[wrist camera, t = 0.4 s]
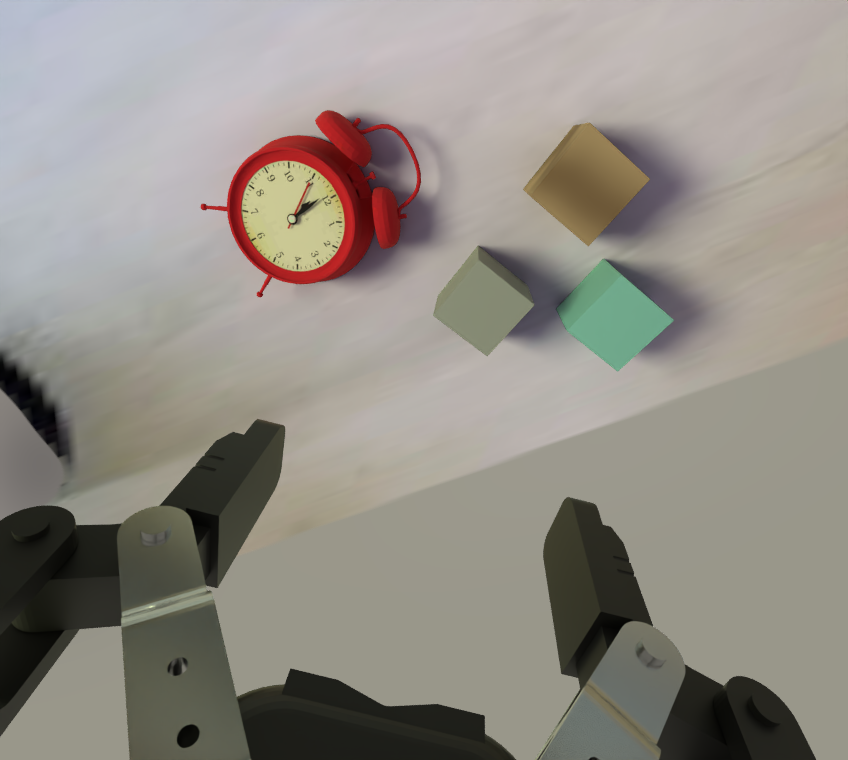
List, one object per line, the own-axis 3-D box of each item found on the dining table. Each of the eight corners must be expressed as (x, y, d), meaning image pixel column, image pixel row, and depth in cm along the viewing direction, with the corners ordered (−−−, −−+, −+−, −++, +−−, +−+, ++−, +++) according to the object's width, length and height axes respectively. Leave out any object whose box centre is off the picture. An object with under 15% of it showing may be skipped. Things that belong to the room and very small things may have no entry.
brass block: (573, 125, 32) (589, 122, 27) (626, 174, 33) (650, 179, 28) (522, 189, 34) (530, 195, 29) (574, 233, 35) (588, 246, 30)
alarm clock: (177, 190, 33) (341, 68, 26) (233, 175, 38) (383, 69, 31) (262, 319, 36) (426, 244, 29) (303, 290, 41) (451, 220, 34)
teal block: (603, 258, 35) (621, 275, 31) (649, 298, 36) (674, 320, 32) (555, 308, 37) (566, 330, 33) (601, 345, 38) (617, 371, 34)
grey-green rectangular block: (478, 245, 36) (478, 259, 31) (527, 285, 37) (534, 304, 32) (438, 295, 38) (433, 315, 33) (485, 332, 39) (487, 356, 34)
